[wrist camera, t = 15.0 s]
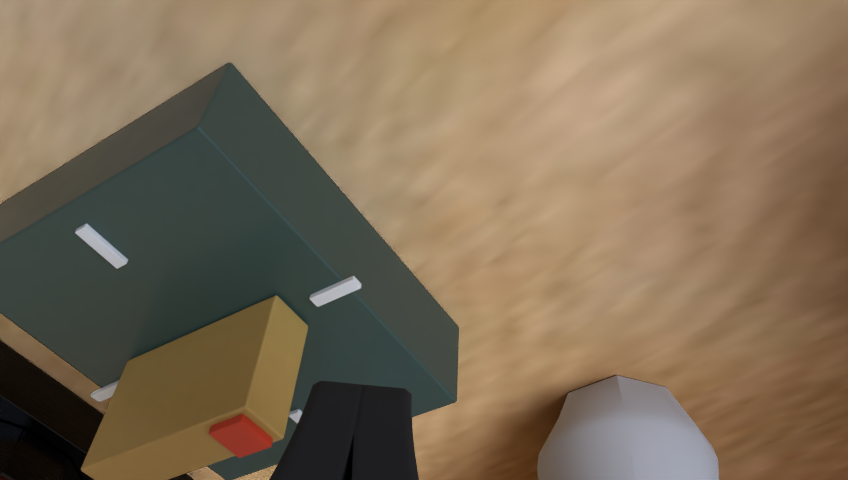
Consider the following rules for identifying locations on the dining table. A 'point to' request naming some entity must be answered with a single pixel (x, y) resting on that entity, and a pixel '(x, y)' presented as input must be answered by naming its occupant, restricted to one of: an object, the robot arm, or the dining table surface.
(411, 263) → the dining table surface
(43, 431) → the switch box
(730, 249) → the dining table surface
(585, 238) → the dining table surface
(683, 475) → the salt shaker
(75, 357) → the panel
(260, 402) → the dimmer knob
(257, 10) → the dining table surface
